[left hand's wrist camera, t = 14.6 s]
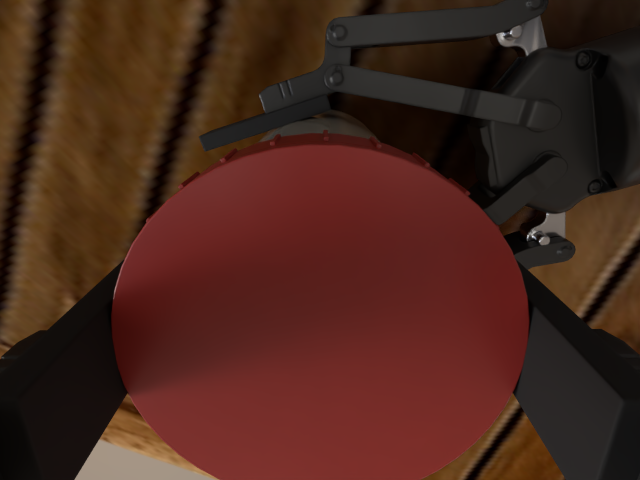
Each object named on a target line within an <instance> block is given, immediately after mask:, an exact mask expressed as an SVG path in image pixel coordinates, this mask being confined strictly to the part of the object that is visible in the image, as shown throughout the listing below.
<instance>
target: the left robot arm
mask: <svg viewBox="0 0 640 480" xmlns="http://www.w3.org/2000/svg"><path fill="white" fill-rule="evenodd" d="M124 260H125V259H124ZM124 260H123V261H122V262H121V263H120V264H119V265H118V266H117V267H116V268H114V269H113V270H112V271H111V272H110V273H109V274H108V275H107V276H106V277H105V278H104V279H103V280H101V281H100V282H99V283H98V284H97V285H96V286H95V287H94V288H93V289H92V290H91V291H89V292H88V293H87V294H86V295H85V296H84V297H83V298H82V299H81V300H80V301H79V302H78V303H76V304H75V305H74V306H73V307H72V308H71V309H70V310H69V311H68V312H67V313H66V314H65V315H63V316H62V317H61V318H60V319H59V320H58V321H57V322H56V323H55V324H54V325H53V326H51V327H50V328H49V329H48V330H40V331H38V332H36V333H34V334H32V335H30V336H29V337H27V338H25V339H23V340H21V341H19V342H18V343H16V344H15V345H14V346H13V347H12V348H11V349H10V350H8V351H7V352H6V353H5V354H4V355H3V356H2V357H1V359H0V480H74V479H75V478H76V476H77V474H78V473H79V471H80V470H81V468H82V466H83V465H84V463H85V461H86V460H87V458H88V457H89V455H90V453H91V452H92V450H93V448H94V447H95V445H96V443H97V442H98V440H99V439H100V437H101V435H102V434H103V432H104V430H105V429H106V427H107V426H108V424H109V422H110V421H111V419H112V417H113V416H114V414H115V412H116V411H117V409H118V408H119V406H120V404H121V403H122V401H123V399H124V398H125V396H126V395H127V393H128V392H127V390H126V388H125V386H124V384H123V381H122V378H121V375H120V372H119V369H118V365H117V360H116V355H115V350H114V345H113V340H112V328H111V312H112V304H113V297H114V290H115V287H116V283H117V280H118V276H119V273H120V269H121V266H122V264H123V262H124ZM516 261H517V260H516ZM517 264H518V266H519V268H520V271H521V273H522V277H523V281H524V285H525V289H526V293H527V298H528V309H529V320H530V323H529V337H528V343H527V348H526V353H525V358H524V363H523V367H522V371H521V374H520V377H519V379H518V382H517V384H516V387H515V389H514V391H513V394H514V395H515V397H516V399H517V400H518V402H519V404H520V405H521V407H522V408H523V410H524V412H525V413H526V415H527V417H528V418H529V420H530V422H531V423H532V425H533V426H534V428H535V430H536V431H537V433H538V435H539V436H540V438H541V439H542V441H543V443H544V444H545V446H546V448H547V449H548V451H549V452H550V454H551V456H552V457H553V459H554V461H555V462H556V464H557V466H558V467H559V469H560V470H561V472H562V474H563V475H564V477H565V479H566V480H640V355H639V354H638V353H637V352H635V351H634V350H633V349H632V348H631V347H630V346H628V345H627V344H626V343H625V342H624V341H622V340H620V339H619V338H617V337H615V336H613V335H611V334H609V333H608V332H606V331H604V330H602V329H591V328H590V327H589V326H588V325H587V324H586V323H585V322H584V321H583V320H581V319H580V318H579V317H578V316H577V315H576V314H575V313H574V312H573V311H572V310H571V309H569V308H568V307H567V306H566V305H565V304H564V303H563V302H562V301H561V300H560V299H559V298H558V297H556V296H555V295H554V294H553V293H552V292H551V291H550V290H549V289H548V288H547V287H546V286H545V285H543V284H542V283H541V282H540V281H539V280H538V279H537V278H536V277H535V276H534V275H533V274H531V273H530V272H529V271H528V270H527V269H526V268H525V267H524V266H523V265H522V264H521V263H520V262H518V261H517Z"/></svg>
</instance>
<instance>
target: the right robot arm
mask: <svg viewBox="0 0 640 480" xmlns="http://www.w3.org/2000/svg"><path fill="white" fill-rule="evenodd" d="M547 5H548V0H503V1H501V2H499V3H497V4H495V5H493V6H485V7H471V8H458V9H444V10H431V11H418V12H404V13H391V14H377V15H364V16H351V17H338V18H335V19H333V20H332V21H331V22H330V23H329V25H328V26H327V30H326V40H325V58H324V61H323V64H322V65H321V66H320V67H319V68H318V69H317V70H315V71H313V72H310V73H307V74H304V75H301V76H298V77H295V78H292V79H289V80H286V81H283V82H280V83H277V84H274V85H271V86H268V87H267V88H265V89H264V90H263V91H262V92H261V93H260V94H259V96H260V99H261V102H262V105H263V108H264V111H265V113H263V114H260V115H257V116H254V117H251V118H248V119H245V120H242V121H239V122H236V123H233V124H230V125H227V126H224V127H221V128H218V129H215V130H212V131H210V132H208V133H205V134H203V135H201V136H199V138H200V141H201V143H202V146H203V148H204V151H208V150H211V149H214V148H217V147H220V146H223V145H226V144H229V143H233V142H236V141H239V140H242V139H245V138H248V137H251V136H254V135H257V134H260V133H263V132H266V131H269V130H272V129H275V128H278V127H282V126H285V125H288V124H291V123H294V122H297V121H300V120H303V119H306V118H309V117H312V116H315V115H318V114H321V113H324V112H328V111H331V107H330V104H329V100H328V97H327V95H328V94H331V93H334V92H342V93H347V94H353V95H358V96H364V97H369V98H374V99H380V100H385V101H391V102H396V103H401V104H407V105H412V106H418V107H423V108H428V109H434V110H439V111H445V112H450V113H455V114H461V115H466V116H470V117H471V120H470V123H469V124H467V128H468V134H469V138H470V140H471V142H472V144H473V146H474V148H475V151H476V154H475V165H474V166H475V171H476V177H477V179H478V180H479V181H478V182H477V183H476V184H474V185H473V186H472V187H471V188H470V189H469V190H468V192H469V193H470V195H469V196H468V197H469V198H471V199H472V200H473V201H474V202H475V203H476V204H478V205H479V206H480V207H481V209H482V210H483V211H484V212H485V213H486V214H487V216H488V217H489V218H490V219H491V220H492V221H493V222H494V223H495V224H496V225H500V224H502V223H504V222H505V221H506V220H508V219H509V218H510V217H511V216H512V215H514V214H515V213H516V212H517V211H519V210H520V209H521V208H522V207H523V206H528V207H531V208H534V209H537V210H539V212H538V215H537V216H536V217H535V218H534V219H533V220H532V221H529V222H524V223H522V224H521V226H520V231H517V232H513V233H510V234H507V235H505V236H503V237H504V238H505V240H506V242H507V243H508V245H509V246H510V248H511V250H512V252H513V254H514V257H515V259H516V260H517V261H518V262H520V263H521V264H522V265H523V266H524V267H525V268H526V269H527V270H528V269H530V268H532V267H536V266H541V265H547V264H553V263H559V262H564V261H567V260H569V259H570V258H572V256H573V255H574V253H575V246H574V245H573V243H571V242H570V241H568V240H567V239H565V212H566V211H568V210H570V209H571V208H572V207H573V206H575V205H576V204H577V203H578V202H580V201H581V200H583V199H584V198H586V197H588V196H591V195H596V194H601V193H607V192H611V191H616V190H619V189H623V188H626V187H630V186H633V185H637V184H640V26H637V27H634V28H630V29H627V30H624V31H621V32H618V33H615V34H612V35H609V36H606V37H603V38H600V39H596V40H593V41H590V42H587V43H584V44H581V45H578V46H575V47H572V48H569V49H565V50H564V49H557V48H554V47H547V44H546V39H545V35H544V31H543V26H542V22H541V18H540V15H541V14H542V13H543V12H544V11H545V9H546V8H547ZM487 36H489V38H490V41H491V43H492V44H493V46H495V47H496V48H506V47H509V48H513V49H514V50H515V51H516V52H517V54H518V57H517V58H516V59H515V61H514V62H513V63H512V64H511V65H510V67H509V68H508V69H507V70H506V71H505V73H504V74H503V75H502V76H501V77H500V79H499V80H498V81H497V82H496V83H495V85H494V86H493V87H492V88H491V89H490V91H489V92H487V91H482V90H476V89H469V88H464V87H458V86H453V85H448V84H442V83H437V82H432V81H427V80H421V79H416V78H411V77H406V76H400V75H395V74H390V73H384V72H379V71H374V70H369V69H363V68H358V67H353V66H350V58H351V49H362V48H376V47H390V46H403V45H417V44H431V43H444V42H458V41H468V40H475V39H479V38H483V37H487Z"/></svg>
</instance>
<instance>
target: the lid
mask: <svg viewBox="0 0 640 480" xmlns="http://www.w3.org/2000/svg"><path fill="white" fill-rule="evenodd" d="M178 187H179V188H180V189H181V190H180V191H178V192H177V193H176V194H175V195H173V196H172V197H171V198H170V199H168V200H167V201H166V202H165V203H164V204H163V205H162V206H161V207H160V209H159V210H157V211H156V212H155V213H154V214H152V215H151V216H150V217H149V218H148V219H147V220H146V222H147V223H146V224H145V226H144V227H143V229H142V230H141V232H140V233H139V235H138V236H137V237H136V239H135V240H134V242H133V243H132V245H131V247H130V250H129V252H128V254H127V256H126V258H125V260H124V262H123V264H122V266H121V269H120V273H119V276H118V280H117V283H116V287H115V290H114V297H113V304H112V312H111V328H112V340H113V345H114V350H115V355H116V360H117V365H118V369H119V372H120V375H121V378H122V381H123V384H124V386H125V388H126V390H127V392H128V394H129V396H130V398H131V400H132V401H133V403H134V405H135V407H136V408H137V409H138V411H139V412H140V414H141V415H142V417H143V418H144V420H145V421H146V422H147V424H148V425H149V426H150V427H151V428H152V429H153V430H154V431H155V433H156V434H157V435H158V436H159V437H160V438H161V439H162V440H163V441H164V442H165V443H166V444H167V445H169V446H170V447H171V448H172V449H173V450H174V451H175V452H177V453H178V454H179V455H180V456H182V457H183V458H184V459H186V460H187V461H189V462H190V463H192V464H193V465H195V466H196V467H197V468H199V469H201V470H203V471H205V472H207V473H208V474H210V475H212V476H214V477H216V478H218V479H220V480H421V479H422V478H424V477H426V476H428V475H430V474H432V473H434V472H436V471H438V470H440V469H441V468H443V467H444V466H446V465H447V464H449V463H450V462H452V461H453V460H455V459H456V458H458V457H459V456H460V455H461V454H463V453H464V452H465V451H466V450H467V449H469V448H470V447H471V446H472V445H473V444H475V443H476V442H477V441H478V439H479V438H480V437H481V436H482V435H483V434H484V433H485V432H486V431H487V430H488V429H489V428H490V427H491V425H492V424H493V423H494V421H495V420H496V419H497V417H498V416H499V415H500V413H501V412H502V411H503V409H504V408H505V406H506V404H507V402H508V400H509V398H510V397H511V395H512V393H513V391H514V389H515V387H516V384H517V382H518V379H519V377H520V374H521V371H522V367H523V363H524V358H525V353H526V348H527V343H528V337H529V323H530V320H529V309H528V298H527V293H526V289H525V285H524V281H523V277H522V273H521V271H520V268H519V266H518V264H517V261H516V259H515V257H514V254H513V252H512V250H511V248H510V246H509V245H508V243H507V242H506V240H505V238H504V237H503V235H502V234H501V232H500V228H499V227H498V226H497V225H496V224H495V223H494V222H493V221H492V220H491V219H490V218H489V217H488V216H487V214H486V213H485V212H484V211H483V210H482V209H481V207H480V206H479V205H478V204H476V203H475V202H474V201H473V200H472V199H471V198H469V197H468V196H469V195H470V193H469V192H468V191H467V190H466V189H465V188H463V187H462V186H461V185H459V184H458V183H457V182H455V181H454V180H453V179H451V178H449V179H446V178H445V177H444V176H442V175H441V174H440V173H439V172H437V171H436V170H435V169H433V168H432V167H430V164H429V163H428V162H426V161H425V160H424V159H422V158H421V157H420V156H419V155H417V154H416V153H413V154H412V155H410V154H408V153H406V152H404V151H401V150H399V149H397V148H395V147H392V146H390V145H387V144H384V143H381V142H378V141H377V140H376V138H375V137H372V136H370V138H369V139H367V138H363V137H357V136H350V135H343V134H335V133H328V130H323V133H307V134H298V135H290V136H282V137H281V135H280V134H276V135H275V137H274V138H273V139H271V140H267V141H263V142H259V143H256V144H253V145H251V146H249V147H246V148H244V149H241V150H239V151H237V149H236V148H235V149H233V150H231V151H230V152H229V153H228V154H226V155H225V156H224V157H223V158H221V159H220V161H218V162H217V163H215V164H213V165H211V166H210V167H209V168H207V169H206V170H205V171H204V172H202V173H201V174H200V173H199V172H196V173H195V174H194V175H192V176H191V177H190V178H188V179H187V180H186V181H184V182H183V183H182V184H180V185H179V186H178Z"/></svg>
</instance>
